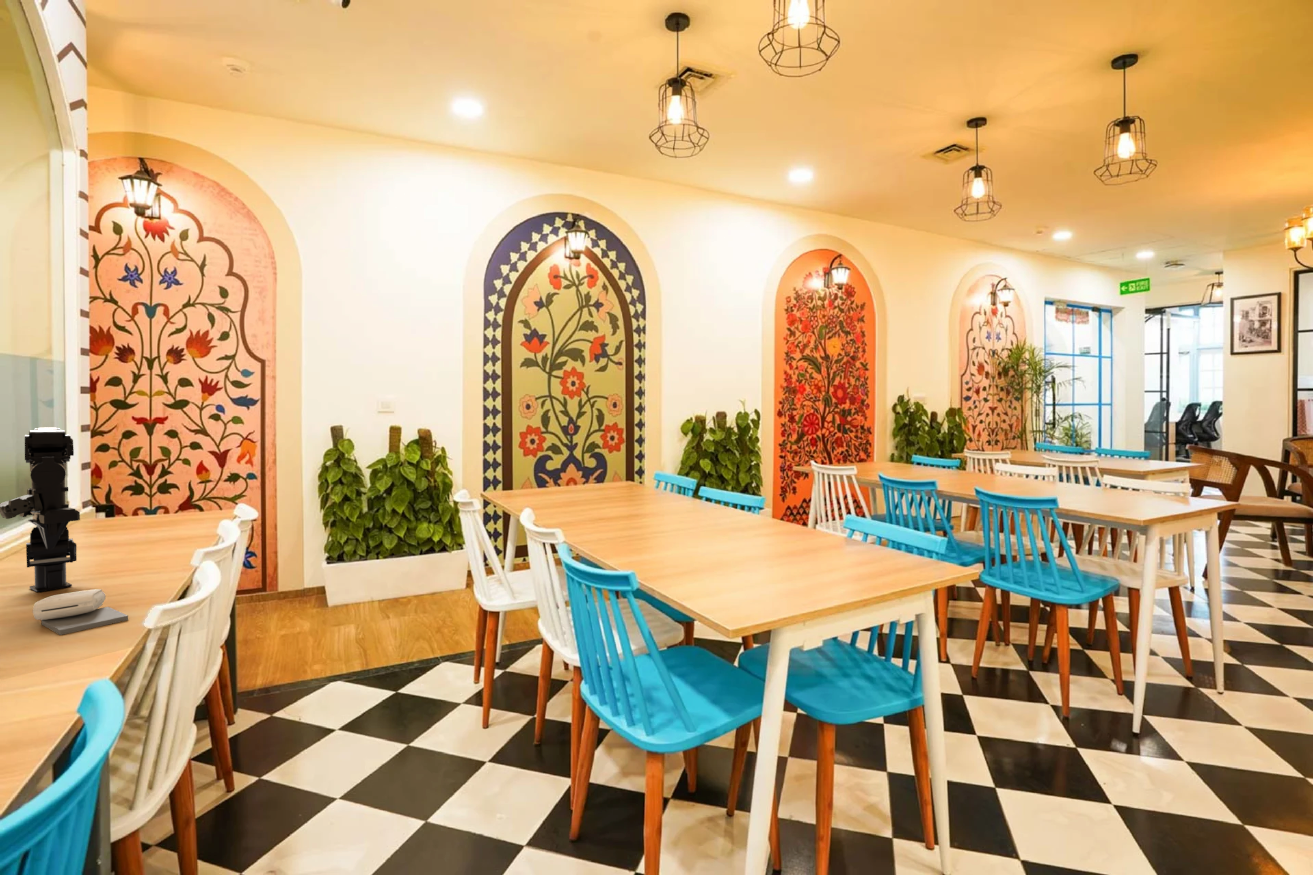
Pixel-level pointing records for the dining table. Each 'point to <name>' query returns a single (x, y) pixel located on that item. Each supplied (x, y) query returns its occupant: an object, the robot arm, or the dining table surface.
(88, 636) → the dining table surface
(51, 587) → the robot arm
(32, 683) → the dining table surface
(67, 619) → the board
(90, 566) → the dining table surface
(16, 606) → the dining table surface
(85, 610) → the photo printer
